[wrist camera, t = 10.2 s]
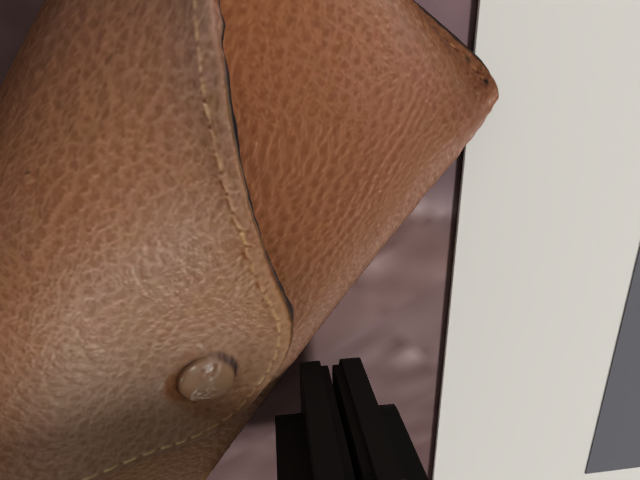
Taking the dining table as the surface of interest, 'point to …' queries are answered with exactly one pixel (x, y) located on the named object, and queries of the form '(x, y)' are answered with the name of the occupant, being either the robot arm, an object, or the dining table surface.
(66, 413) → the sunglasses case
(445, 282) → the dining table surface
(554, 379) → the letter mat
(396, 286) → the dining table surface
